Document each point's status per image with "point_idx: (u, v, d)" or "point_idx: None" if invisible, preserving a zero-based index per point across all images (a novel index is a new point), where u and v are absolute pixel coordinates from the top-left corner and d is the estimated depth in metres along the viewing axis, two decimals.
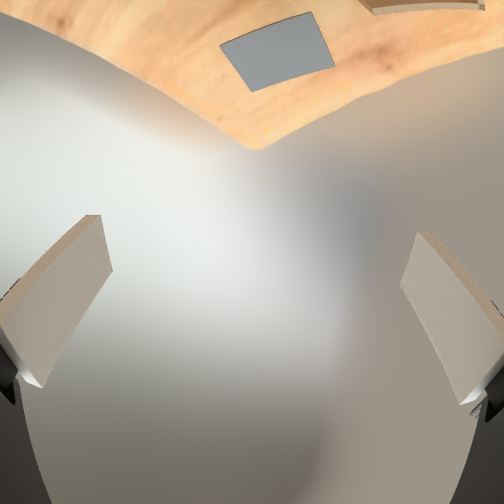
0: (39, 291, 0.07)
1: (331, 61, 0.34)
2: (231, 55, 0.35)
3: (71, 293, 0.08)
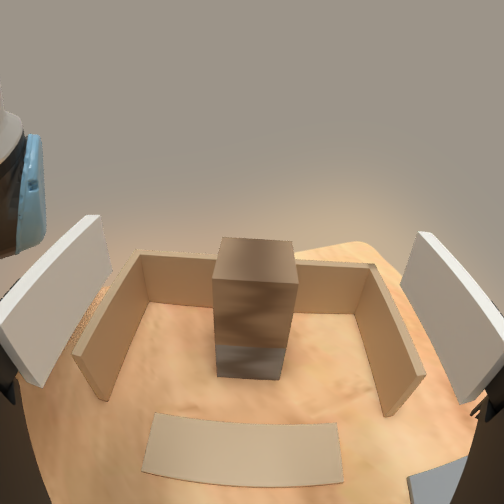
0: (39, 291, 0.07)
1: None
2: None
3: (71, 293, 0.08)
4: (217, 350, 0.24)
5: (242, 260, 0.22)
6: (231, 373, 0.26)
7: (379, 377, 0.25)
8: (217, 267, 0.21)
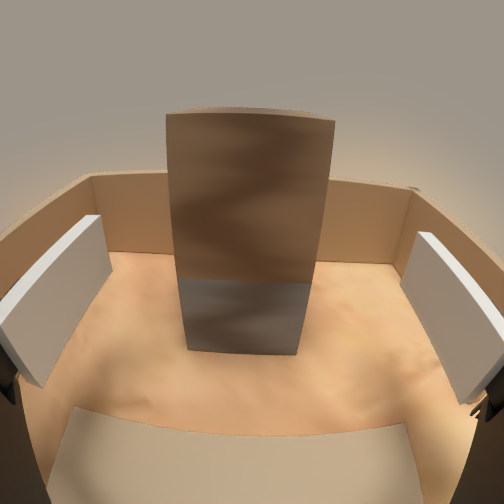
0: (39, 291, 0.07)
1: None
2: None
3: (71, 293, 0.08)
4: (182, 291, 0.13)
5: None
6: (210, 343, 0.15)
7: None
8: (180, 112, 0.10)
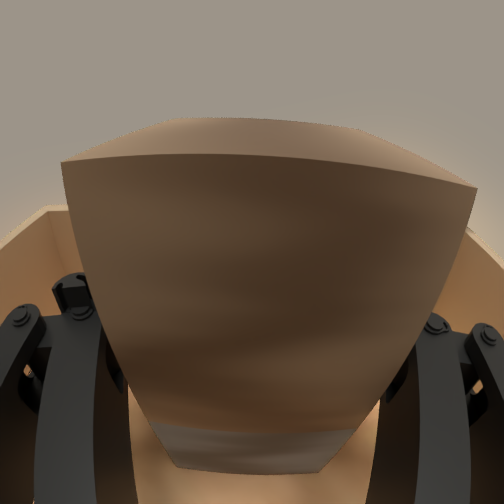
0: None
1: None
2: None
3: None
4: (159, 432, 0.07)
5: (219, 130, 0.05)
6: (206, 466, 0.09)
7: None
8: (114, 142, 0.04)
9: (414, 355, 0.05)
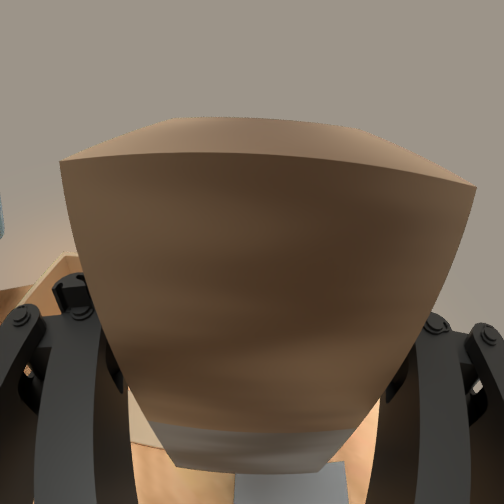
0: None
1: (333, 464, 0.20)
2: None
3: None
4: (158, 432, 0.07)
5: (218, 128, 0.05)
6: (206, 466, 0.09)
7: None
8: (113, 141, 0.04)
9: (414, 355, 0.05)
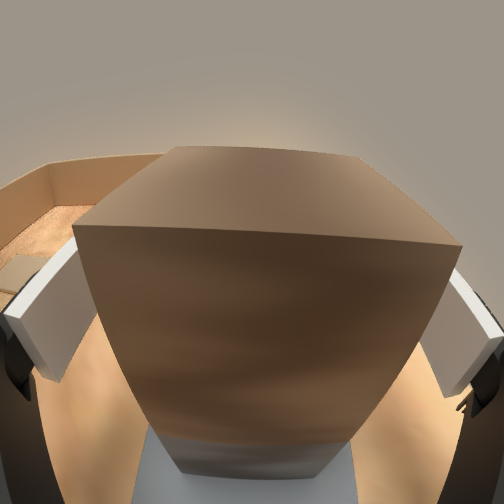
0: (58, 285, 0.07)
1: None
2: None
3: (88, 287, 0.09)
4: (166, 443, 0.08)
5: (220, 175, 0.06)
6: (209, 472, 0.09)
7: None
8: (119, 193, 0.05)
9: None
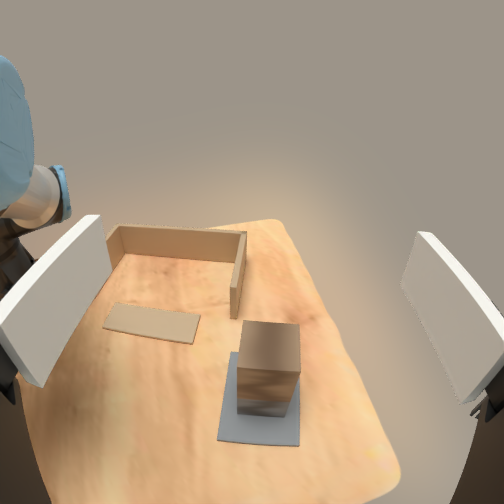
0: (39, 291, 0.07)
1: None
2: (235, 436, 0.30)
3: (71, 293, 0.08)
4: (238, 401, 0.30)
5: (259, 347, 0.27)
6: (247, 412, 0.32)
7: None
8: (240, 355, 0.27)
9: None
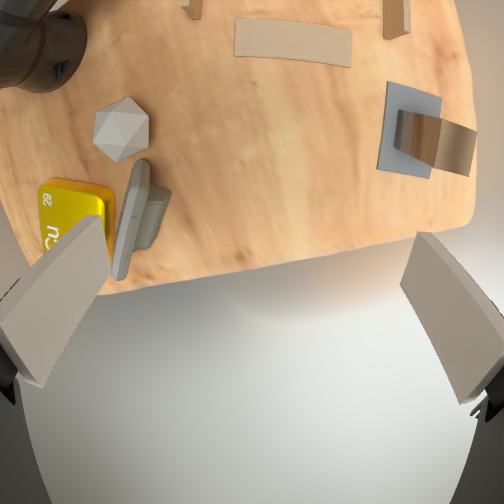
0: (39, 291, 0.07)
1: (436, 97, 0.33)
2: (390, 167, 0.39)
3: (71, 293, 0.08)
4: (406, 153, 0.34)
5: (450, 151, 0.26)
6: None
7: (386, 13, 0.26)
8: (437, 157, 0.26)
9: None
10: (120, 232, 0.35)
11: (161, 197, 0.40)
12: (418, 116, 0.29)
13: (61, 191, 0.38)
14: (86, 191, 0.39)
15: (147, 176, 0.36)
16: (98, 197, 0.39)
